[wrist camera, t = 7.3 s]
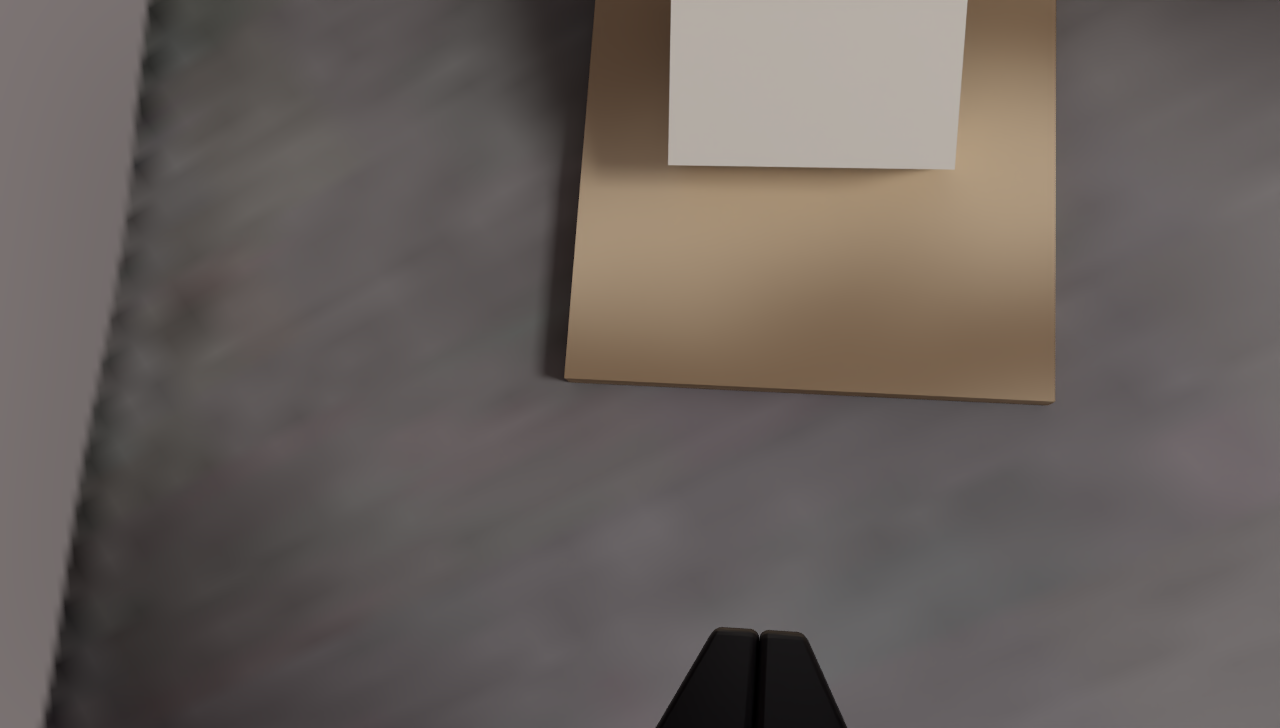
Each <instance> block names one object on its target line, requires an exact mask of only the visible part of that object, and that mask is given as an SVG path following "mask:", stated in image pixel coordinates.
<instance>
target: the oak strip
mask: <svg viewBox="0 0 1280 728" xmlns="http://www.w3.org/2000/svg"><path fill="white" fill-rule="evenodd" d="M670 31H671V0H595V11H594V23H593V36H592V48H591V60H590V72H589V84H588V96H587V108H586V120H585V132H584V144H583V156H582V169H581V181H580V193H579V205H578V217H577V229H576V241H575V253H574V265H573V277H572V289H571V301H570V314H569V326H568V338H567V350H566V362H565V374H564V378H565V379H566V380H567V381H569V382H575V383H596V384H617V385H637V386H658V387H679V388H699V389H720V390H741V391H761V392H782V393H803V394H824V395H844V396H865V397H886V398H906V399H927V400H948V401H968V402H989V403H1010V404H1031V405H1050V404H1052V403H1053V402H1055V211H1056V0H968V2H967V15H966V28H965V41H964V54H963V68H962V81H961V94H960V107H959V120H958V133H957V146H956V160H955V170H947V169H882V168H818V167H753V166H689V165H668V144H669V87H670Z"/></svg>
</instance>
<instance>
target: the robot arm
mask: <svg viewBox="0 0 1280 728" xmlns="http://www.w3.org/2000/svg"><path fill="white" fill-rule="evenodd" d="M656 728H847V726H846V724H845V722H844V719H843V717H842V715H841V713H840V710H839V708H838V706H837V704H836V702H835V699H834V697H833V695H832V693H831V690H830V688H829V686H828V684H827V681H826V679H825V677H824V675H823V673H822V670H821V668H820V666H819V664H818V661H817V659H816V657H815V655H814V652H813V650H812V648H811V646H810V643H809V641H808V640H807V638H806V637H805V636H804V635H803V634H802V633H799V632H790V631H774V630H766V631H764V632H762V634H761V635H760V639H759V635H758V633H757V632H756V631H754V630H752V629H743V628H728V627H719V628H717V629H715V630H714V631H713V632H712V633H711V635H710V636H709V638H708V640H707V641H706V643H705V645H704V646H703V648H702V650H701V652H700V653H699V655H698V657H697V658H696V660H695V662H694V663H693V665H692V667H691V669H690V670H689V672H688V674H687V675H686V677H685V679H684V680H683V682H682V684H681V686H680V687H679V689H678V691H677V692H676V694H675V696H674V698H673V699H672V701H671V703H670V704H669V706H668V708H667V709H666V711H665V713H664V715H663V716H662V718H661V720H660V721H659V723H658V725H657V726H656Z"/></svg>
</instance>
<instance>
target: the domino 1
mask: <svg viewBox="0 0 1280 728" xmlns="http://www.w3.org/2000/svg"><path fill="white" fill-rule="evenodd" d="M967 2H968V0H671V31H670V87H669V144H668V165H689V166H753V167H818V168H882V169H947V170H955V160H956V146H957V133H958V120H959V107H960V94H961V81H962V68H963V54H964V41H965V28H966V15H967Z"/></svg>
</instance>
